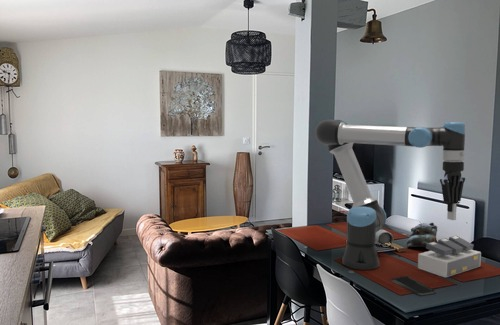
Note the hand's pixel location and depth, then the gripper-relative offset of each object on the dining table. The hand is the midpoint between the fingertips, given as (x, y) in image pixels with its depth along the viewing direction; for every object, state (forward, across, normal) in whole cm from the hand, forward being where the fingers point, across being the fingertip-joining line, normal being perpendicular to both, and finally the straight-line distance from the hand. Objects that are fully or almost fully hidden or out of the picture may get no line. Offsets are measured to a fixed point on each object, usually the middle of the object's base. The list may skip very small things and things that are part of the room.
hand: (451, 219), depth 157 cm
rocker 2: (+11, +2, +1) cm, 12 cm away
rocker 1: (+12, -6, +1) cm, 14 cm away
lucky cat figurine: (+21, +15, +25) cm, 36 cm away
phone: (+21, -28, -5) cm, 36 cm away
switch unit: (+20, +2, +1) cm, 21 cm away
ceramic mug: (+21, 0, +37) cm, 43 cm away
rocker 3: (+12, +9, +2) cm, 15 cm away
